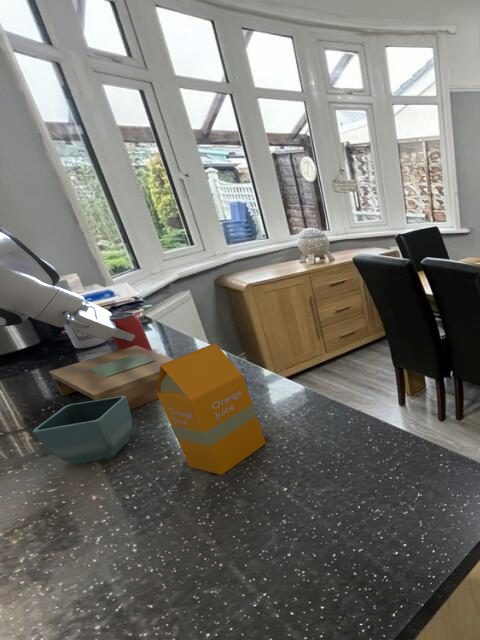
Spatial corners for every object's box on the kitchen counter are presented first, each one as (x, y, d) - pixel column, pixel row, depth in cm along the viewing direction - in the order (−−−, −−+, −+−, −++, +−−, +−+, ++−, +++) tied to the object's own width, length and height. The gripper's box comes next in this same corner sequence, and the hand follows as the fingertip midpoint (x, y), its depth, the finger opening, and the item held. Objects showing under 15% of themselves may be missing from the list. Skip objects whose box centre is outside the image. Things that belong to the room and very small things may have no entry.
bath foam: (113, 340, 122) (83, 277, 114) (89, 349, 116) (56, 283, 108) (92, 339, 123) (62, 277, 115) (68, 349, 116) (33, 283, 108)
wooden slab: (106, 419, 81) (93, 394, 79) (61, 394, 91) (48, 370, 89) (193, 385, 94) (183, 361, 92) (144, 365, 104) (135, 344, 102)
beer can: (143, 350, 113) (127, 310, 108) (159, 353, 111) (142, 313, 106) (116, 359, 107) (97, 318, 103) (131, 362, 105) (113, 321, 101)
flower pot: (88, 444, 73) (66, 404, 70) (146, 434, 76) (126, 394, 73) (56, 476, 66) (29, 432, 62) (121, 463, 68) (98, 420, 65)
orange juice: (266, 443, 73) (233, 344, 65) (221, 475, 65) (177, 368, 57) (235, 435, 75) (199, 340, 67) (187, 466, 67) (141, 362, 59)
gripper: (72, 306, 91) (144, 334, 101) (72, 290, 104) (135, 316, 114) (53, 330, 90) (128, 355, 100) (55, 310, 103) (121, 334, 113)
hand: (132, 334), depth 107 cm, fingers closed on beer can, 6 cm apart
